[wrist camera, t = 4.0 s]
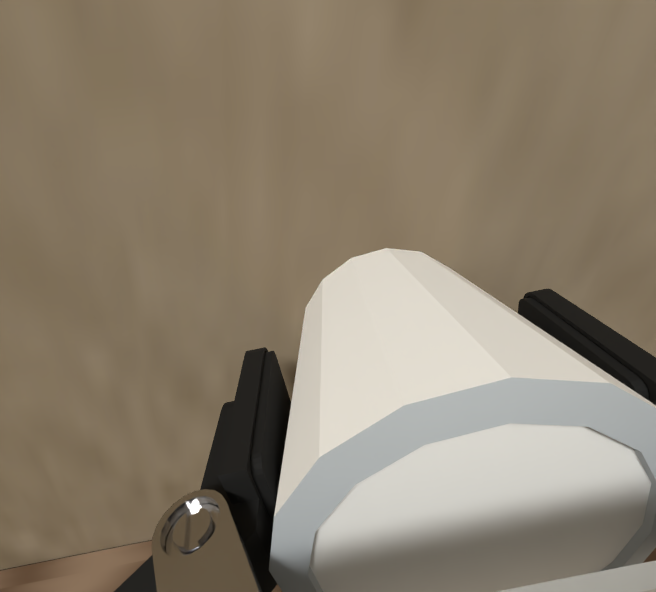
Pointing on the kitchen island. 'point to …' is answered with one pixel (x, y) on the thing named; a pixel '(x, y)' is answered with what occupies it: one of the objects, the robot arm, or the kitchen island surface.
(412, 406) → the white cup
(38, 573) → the rack
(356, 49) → the kitchen island surface
